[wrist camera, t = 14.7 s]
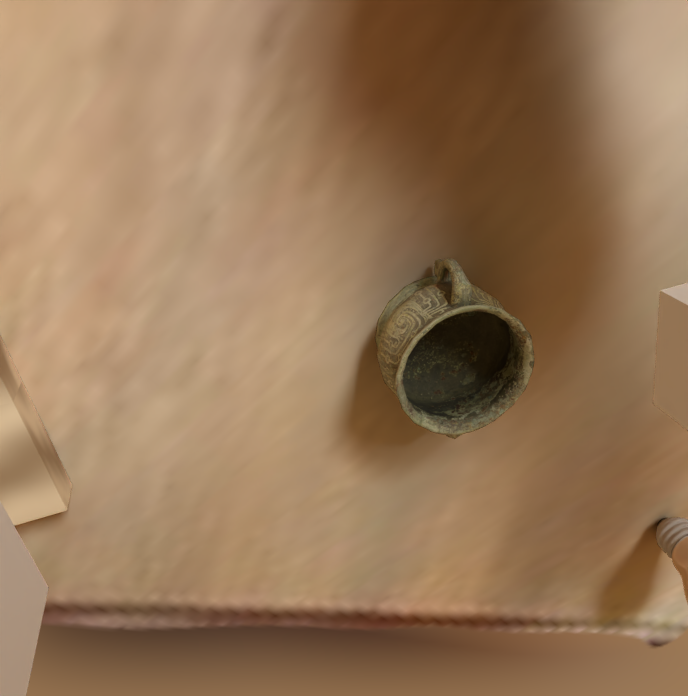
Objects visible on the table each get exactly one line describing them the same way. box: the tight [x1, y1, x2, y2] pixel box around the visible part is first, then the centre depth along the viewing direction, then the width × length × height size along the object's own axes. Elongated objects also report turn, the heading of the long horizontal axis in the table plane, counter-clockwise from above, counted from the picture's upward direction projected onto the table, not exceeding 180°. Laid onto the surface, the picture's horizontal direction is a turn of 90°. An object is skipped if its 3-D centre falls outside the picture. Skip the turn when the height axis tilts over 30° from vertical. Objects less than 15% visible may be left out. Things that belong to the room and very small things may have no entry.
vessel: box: [375, 259, 534, 439], centre depth 41 cm, size 12×9×6 cm
